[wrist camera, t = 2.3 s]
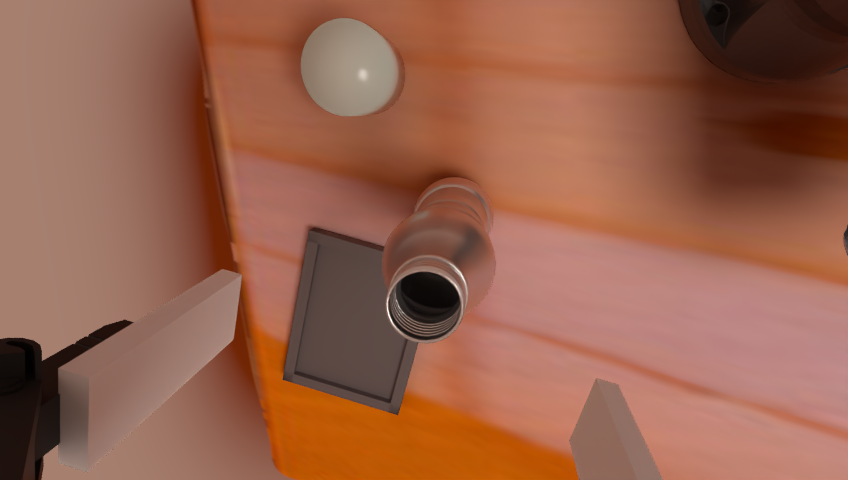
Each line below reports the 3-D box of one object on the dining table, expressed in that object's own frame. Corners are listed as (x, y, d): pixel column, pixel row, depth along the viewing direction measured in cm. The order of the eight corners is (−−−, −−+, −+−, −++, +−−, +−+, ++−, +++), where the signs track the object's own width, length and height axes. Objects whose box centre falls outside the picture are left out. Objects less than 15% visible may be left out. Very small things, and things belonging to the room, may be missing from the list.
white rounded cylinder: (336, 23, 36) (308, 7, 31) (413, 43, 36) (399, 30, 30) (322, 104, 38) (294, 103, 32) (395, 123, 38) (379, 126, 32)
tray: (314, 227, 41) (309, 230, 40) (440, 263, 41) (439, 267, 40) (287, 372, 46) (282, 379, 45) (400, 407, 46) (397, 415, 44)
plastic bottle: (404, 225, 40) (329, 330, 21) (441, 158, 38) (395, 207, 19) (468, 260, 40) (449, 397, 21) (508, 195, 38) (527, 282, 19)
